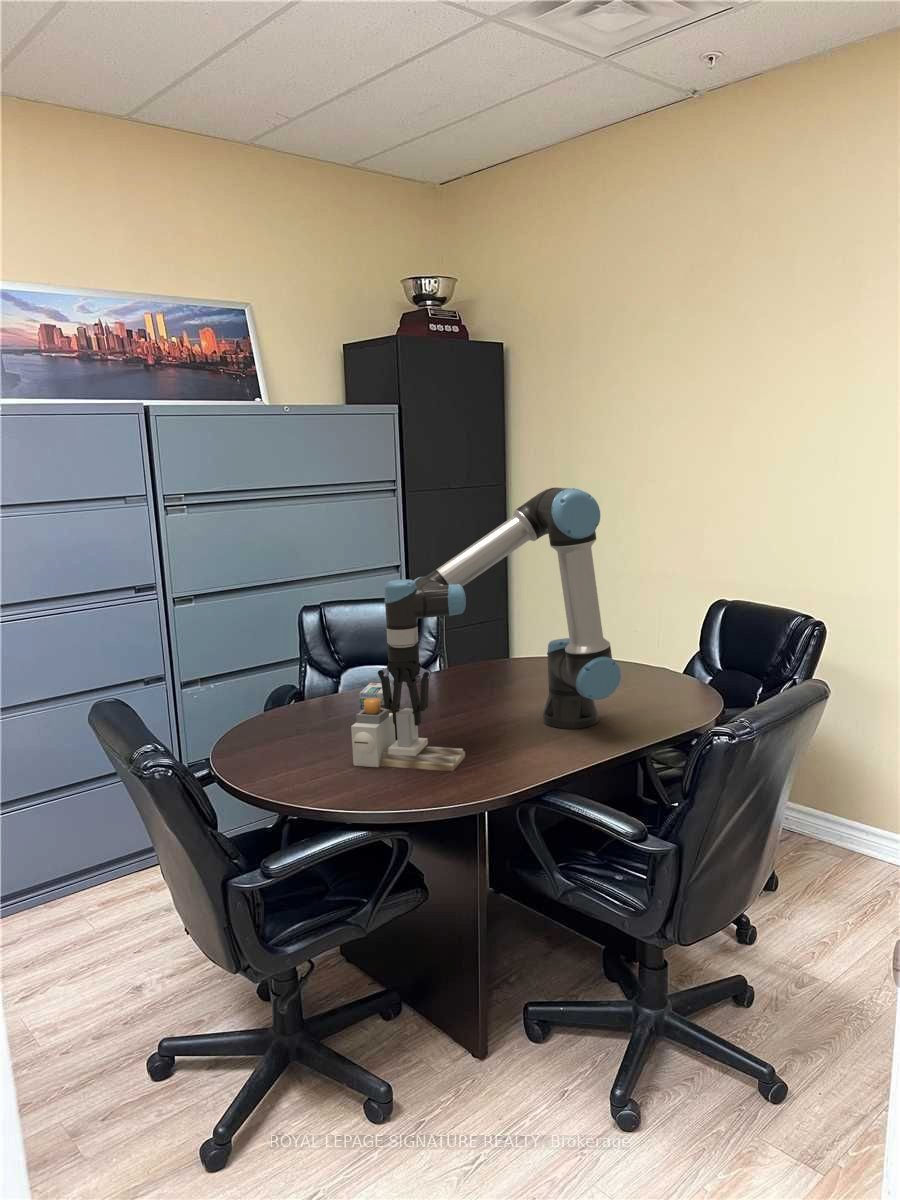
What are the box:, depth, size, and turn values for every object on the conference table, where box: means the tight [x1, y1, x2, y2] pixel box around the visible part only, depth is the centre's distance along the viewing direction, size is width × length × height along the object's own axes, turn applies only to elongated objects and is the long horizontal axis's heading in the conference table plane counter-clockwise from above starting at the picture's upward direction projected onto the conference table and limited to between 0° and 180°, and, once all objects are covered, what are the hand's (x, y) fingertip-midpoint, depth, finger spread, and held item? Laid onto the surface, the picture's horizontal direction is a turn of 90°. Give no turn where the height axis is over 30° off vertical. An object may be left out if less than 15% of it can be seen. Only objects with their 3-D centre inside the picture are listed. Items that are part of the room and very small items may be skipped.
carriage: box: [388, 707, 429, 756], centre depth 224 cm, size 7×9×10 cm
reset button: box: [364, 698, 381, 714], centre depth 226 cm, size 4×4×3 cm
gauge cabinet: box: [350, 709, 397, 768], centre depth 227 cm, size 6×13×12 cm, turn 162°
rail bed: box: [380, 745, 466, 772], centre depth 224 cm, size 18×10×3 cm, turn 72°
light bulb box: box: [359, 682, 393, 712], centre depth 255 cm, size 11×7×11 cm, turn 168°
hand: (407, 737), depth 225 cm, fingers closed on carriage, 3 cm apart
